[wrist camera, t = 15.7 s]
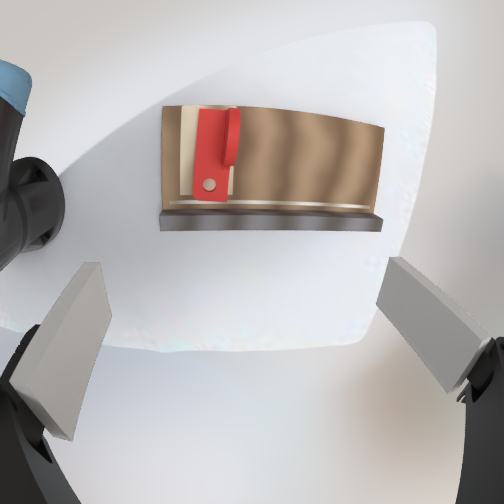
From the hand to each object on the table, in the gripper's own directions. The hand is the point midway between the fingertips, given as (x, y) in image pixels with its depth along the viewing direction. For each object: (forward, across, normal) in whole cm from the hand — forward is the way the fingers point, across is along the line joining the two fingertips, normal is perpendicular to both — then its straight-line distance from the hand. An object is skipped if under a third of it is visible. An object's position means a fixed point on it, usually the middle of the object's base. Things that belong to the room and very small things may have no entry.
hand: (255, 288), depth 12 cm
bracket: (+27, -1, +3) cm, 27 cm away
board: (+29, +8, +2) cm, 30 cm away
